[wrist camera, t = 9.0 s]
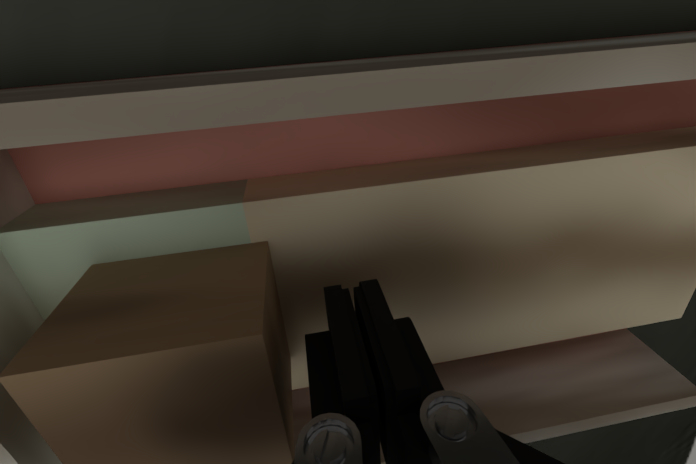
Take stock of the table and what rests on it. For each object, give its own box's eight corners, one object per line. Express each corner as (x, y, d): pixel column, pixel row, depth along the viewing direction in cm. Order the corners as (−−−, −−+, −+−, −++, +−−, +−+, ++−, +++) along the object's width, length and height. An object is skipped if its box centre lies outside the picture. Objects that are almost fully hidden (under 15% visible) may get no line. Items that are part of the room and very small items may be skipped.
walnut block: (290, 358, 13) (294, 471, 10) (148, 383, 13) (98, 511, 9) (268, 240, 11) (262, 334, 8) (91, 264, 10) (-4, 377, 7)
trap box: (614, 333, 20) (721, 426, 15) (133, 423, 17) (76, 573, 12) (730, 27, 13) (998, 20, 8) (-50, 93, 10) (-350, 140, 5)
